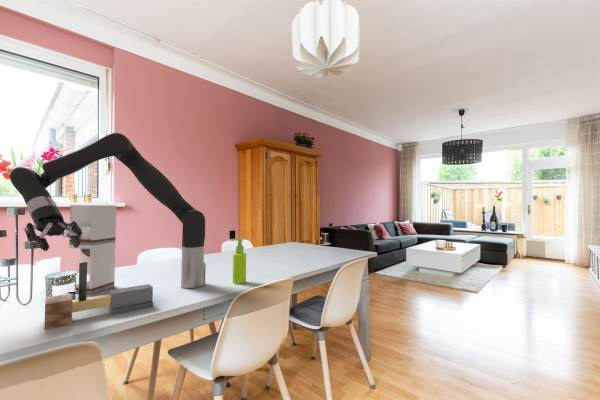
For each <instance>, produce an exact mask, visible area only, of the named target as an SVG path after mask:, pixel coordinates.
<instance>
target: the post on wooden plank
mask: <svg viewBox="0 0 600 400" xmlns="http://www.w3.org/2000/svg"><path fill="white" fill-rule="evenodd" d="M78 265H79V266H78V285H79V293H77V295H78V296H77V297H78V299H72V314H73V313H78V312H83V311H89V310H90V311H91V310H93V309H94V310H95V309H98V308H99V309H102V308H105V307H109V306H111V301H112V295H111V294H110V293H108V294H102V295H96V296H95V295H94V296H90V297H87V295H88V294H87V282H88V274H87V262H81V263H80V262H79V264H78Z"/></svg>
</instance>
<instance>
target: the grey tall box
mask: <svg viewBox="0 0 600 400" xmlns="http://www.w3.org/2000/svg"><path fill="white" fill-rule="evenodd" d="M69 207H70V209H69V223H72V222H73V221H75V222H76V223H77V225H78V226H79V228H80V229H81V231H82V234H81V236H80V237H79V240H80V244H79V246H78V247H77V248H76V249H80V257H79V258H80V260H79V263H81V262H87V275H89V278H88V279H89V280H88V281H87V294H86V295H93V294H96V293H98V292H102V291H104V290H107V289H110V288H113V287H115V277H116V275H115V272H116V237H117V236H116V233H117V232H116V229H117V228H116V226H117V205H111V204H110V205H107V204H106V205H100V204H99V205H95V204H92V205H91V204H89V205H87V204H86V205H85V204H84V205H83V204H80V205H79V204H71V205H69ZM70 235H71V234H70ZM71 236H72V235H71ZM68 239H69V238H68ZM68 247H69V249H75V248H74V246H73V244H72V242H71V239H69V242H68ZM78 293H79V284H76V293H75V294H78Z"/></svg>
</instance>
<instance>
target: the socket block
mask: <svg viewBox="0 0 600 400" xmlns="http://www.w3.org/2000/svg"><path fill="white" fill-rule="evenodd" d="M72 300H73V296H72V293H66V294H59V295H53V296H46V297H45V300H44V301H45V302H44V325H43V326H44V329H43V330H47V329H48V330H49V329H53V328H58V327H62V326H63V327H64V326H67V325H68V326H69V325H72V324H73V313H72Z"/></svg>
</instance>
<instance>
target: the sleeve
mask: <svg viewBox="0 0 600 400" xmlns="http://www.w3.org/2000/svg"><path fill="white" fill-rule="evenodd" d="M153 289H154V288H153V286H152V285H151V284H150V283H147V284H141V285H135V286H130V287H129V286H128V287H121V288H115V289H110V290H109V294H111V295H112V301H111V306H108V310H109V312H110V314H111V316H115V315H118V314H125V313H128V312H134V311H140V310H144V309H148V308H149V309H150V308H153V307H154V302H153V299H154V298H153V296H154V295H153V294H154V293H153V292H154V290H153Z"/></svg>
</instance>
